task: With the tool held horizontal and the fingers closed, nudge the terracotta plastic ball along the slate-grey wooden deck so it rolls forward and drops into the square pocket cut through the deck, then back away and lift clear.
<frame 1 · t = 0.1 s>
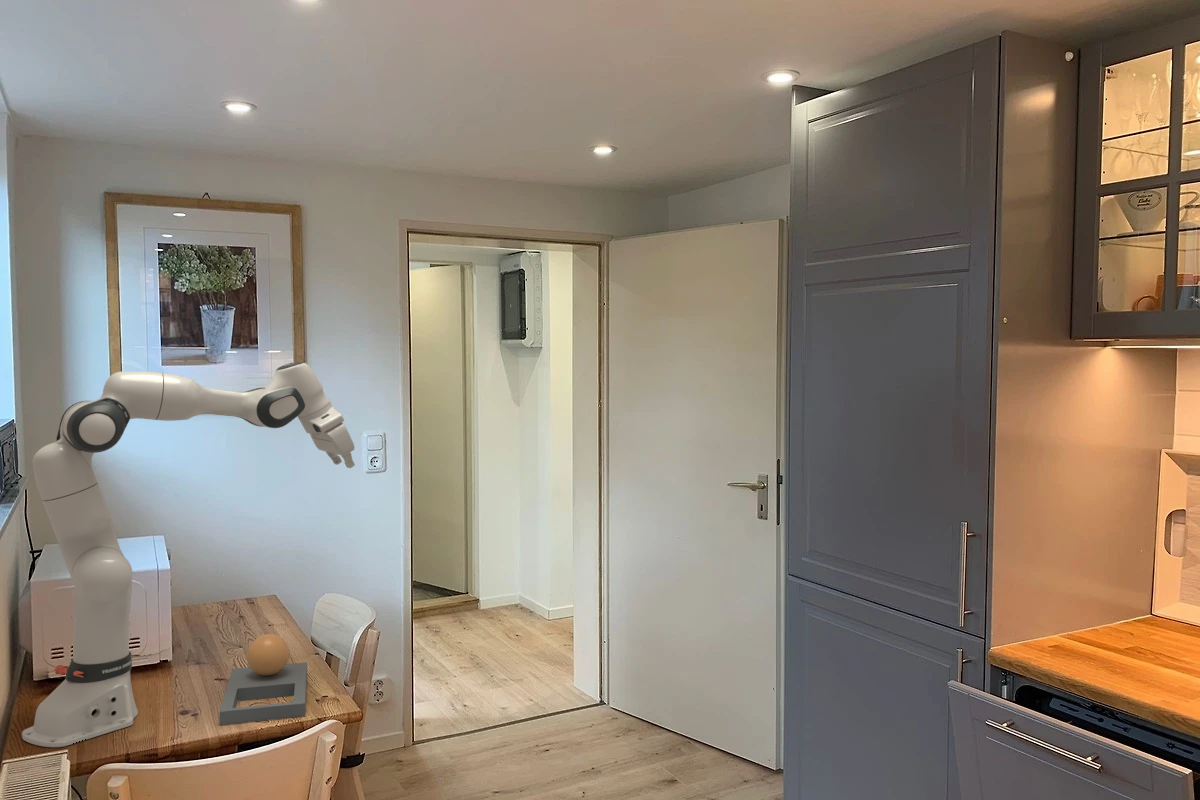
hand: (344, 465, 228), 54 cm above the table, tool tilted 30°, fingers open, 8 cm apart
deck: (266, 697, 211), on the table
can: (115, 671, 228), on the table
ball: (268, 654, 218), point 8 cm above the table, touching deck
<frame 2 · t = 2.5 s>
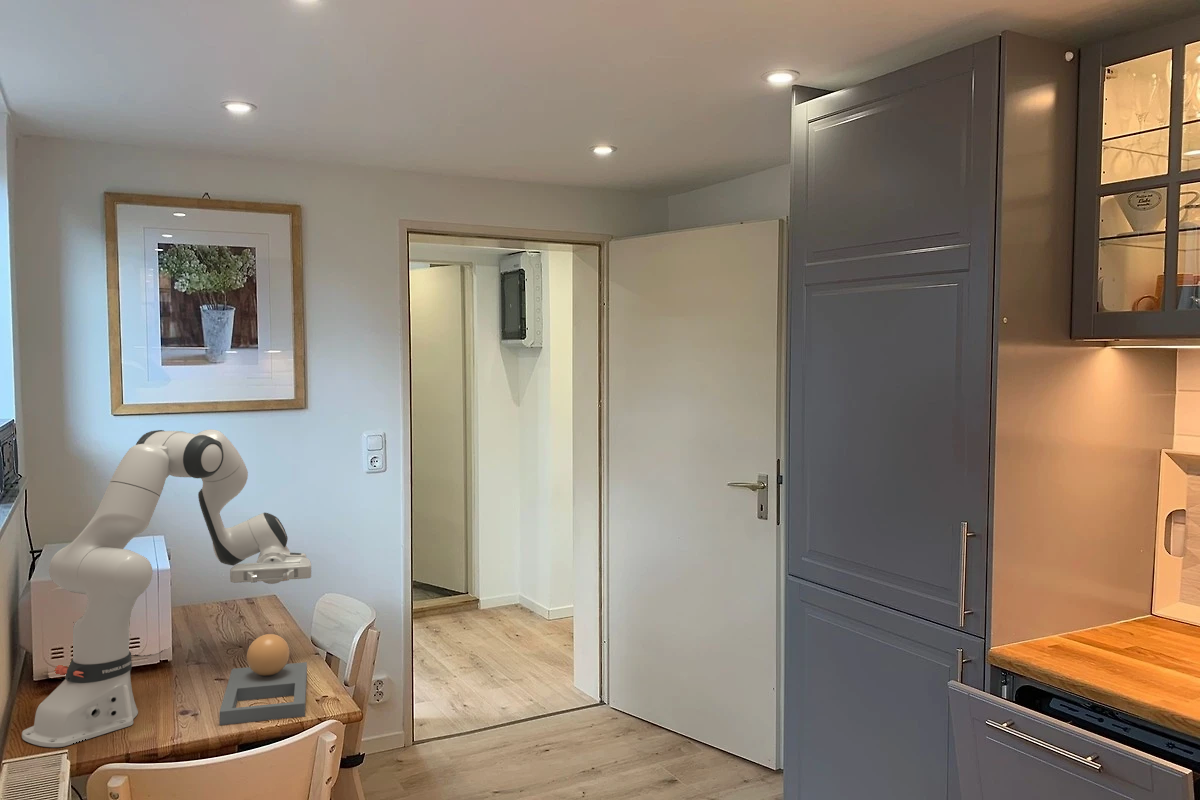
hand: (270, 578, 226), 25 cm above the table, tool horizontal, fingers open, 6 cm apart
nothing on the table moved.
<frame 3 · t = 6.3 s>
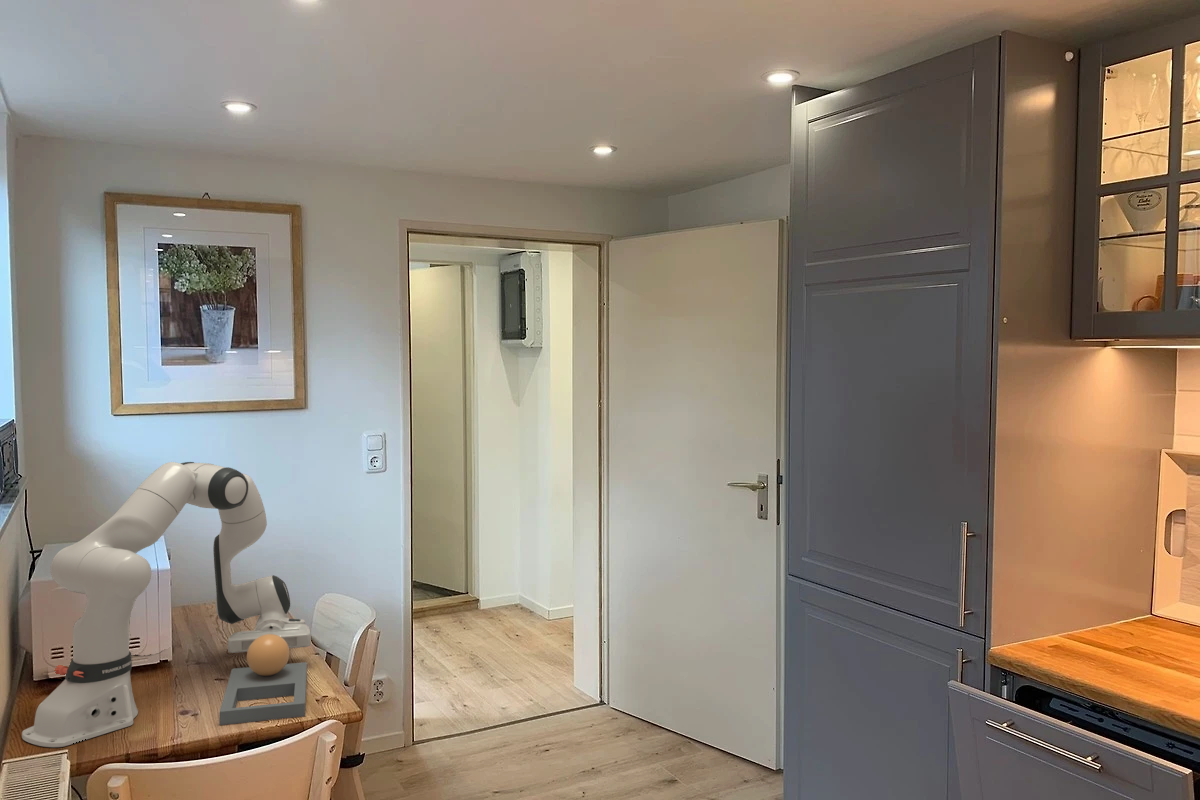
hand: (268, 649, 222), 8 cm above the table, tool horizontal, fingers closed, pressing on ball
ball: (268, 654, 218), point 8 cm above the table, touching deck, gripper
everything else where it was.
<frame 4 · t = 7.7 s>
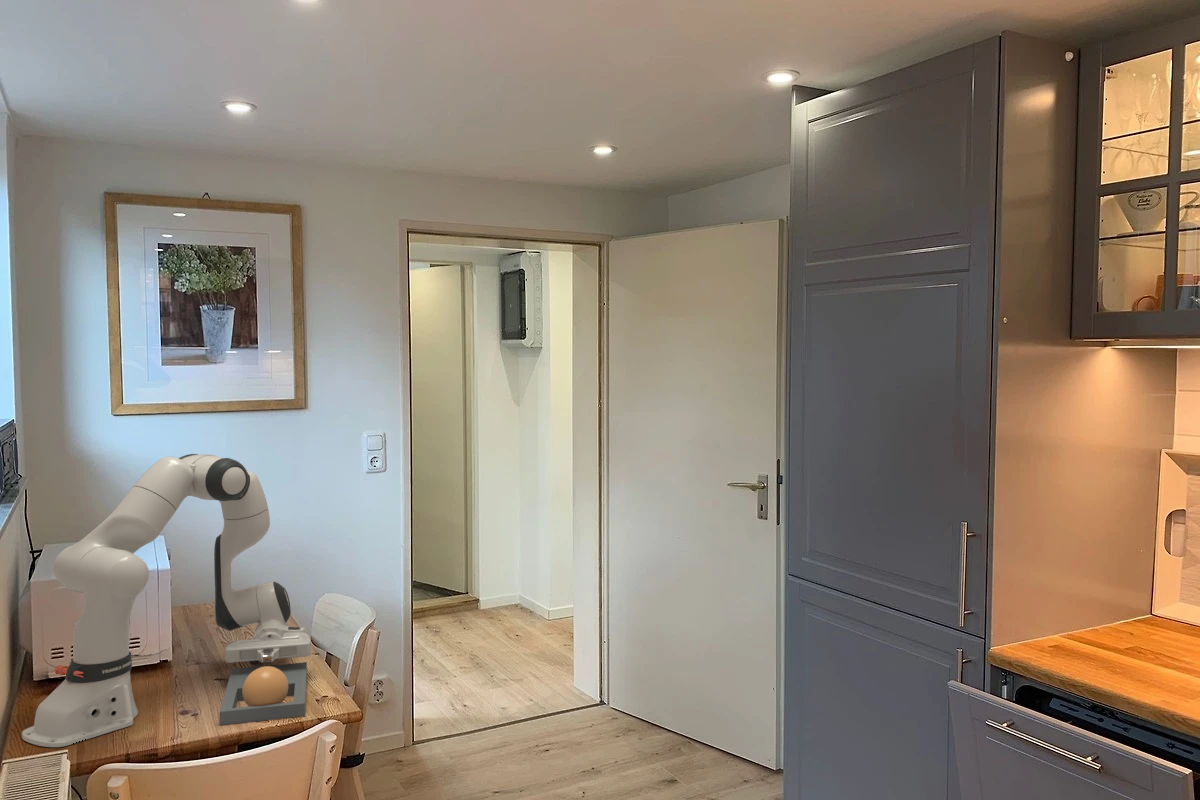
hand: (267, 659, 215), 8 cm above the table, tool horizontal, fingers closed
ball: (265, 688, 203), point 5 cm above the table, tilted 163°, touching deck
everything else where it was.
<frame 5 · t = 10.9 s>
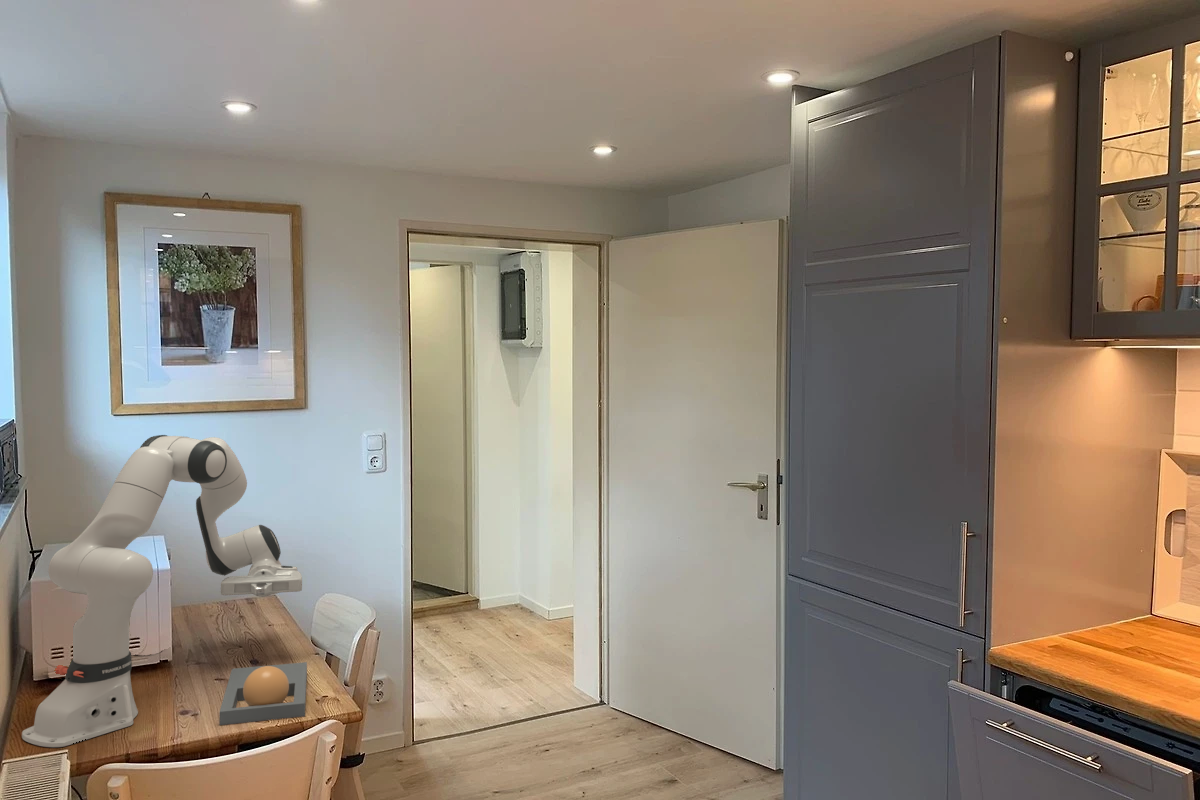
hand: (260, 591, 226), 22 cm above the table, tool horizontal, fingers closed
ball: (266, 688, 203), point 5 cm above the table, tilted 169°
everything else where it was.
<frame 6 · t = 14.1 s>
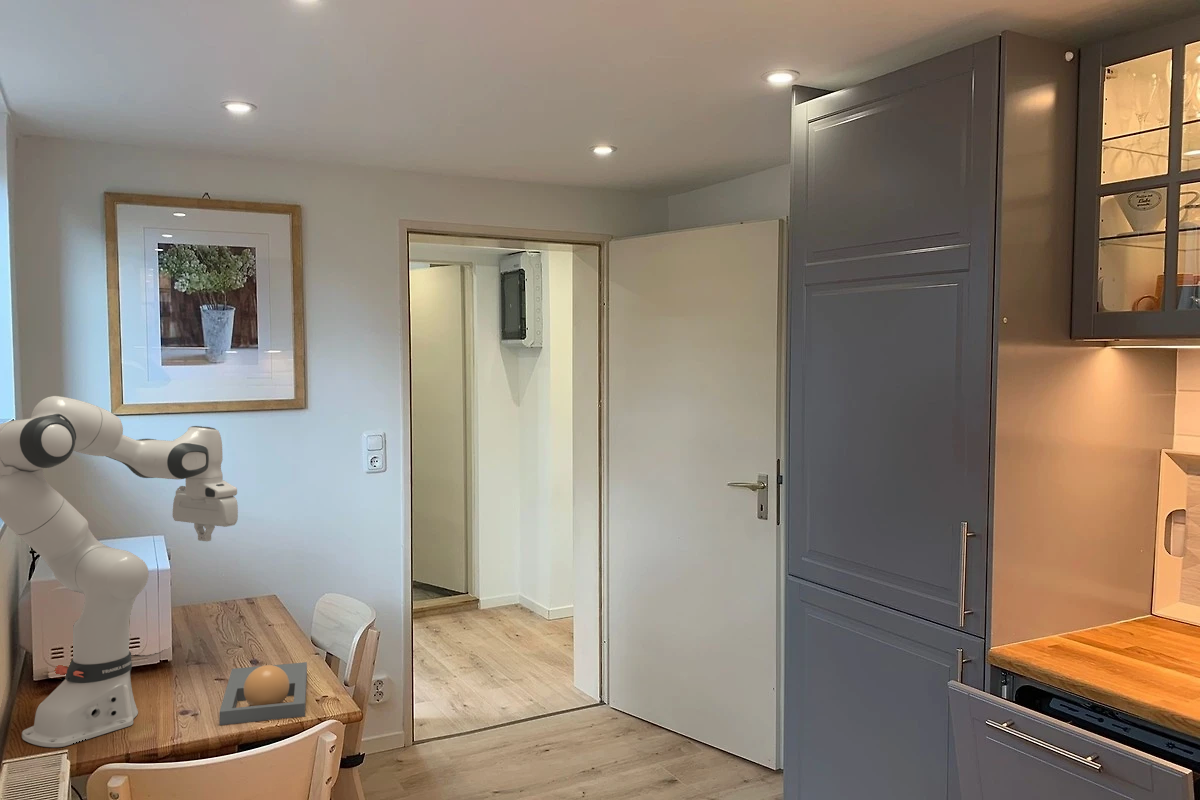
hand: (204, 540, 228), 34 cm above the table, tool pointing down, fingers closed
ball: (266, 687, 204), point 5 cm above the table, tilted 177°
everything else where it was.
at the end: ball inside the target area on the deck (0.7 cm from its centre), point 5.0 cm above the deck's base; ball moved 15.2 cm from its start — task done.
